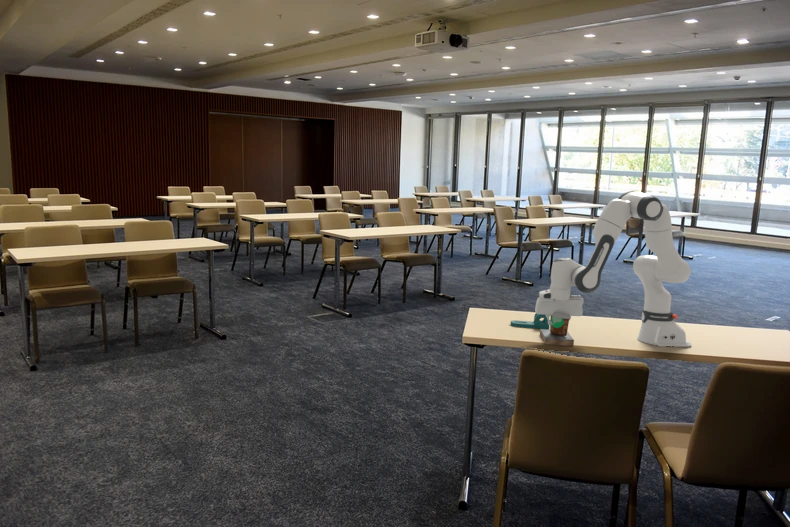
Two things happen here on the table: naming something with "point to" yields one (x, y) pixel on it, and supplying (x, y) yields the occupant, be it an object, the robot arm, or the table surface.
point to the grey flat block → (556, 338)
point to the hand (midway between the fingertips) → (557, 324)
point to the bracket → (535, 324)
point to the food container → (559, 323)
